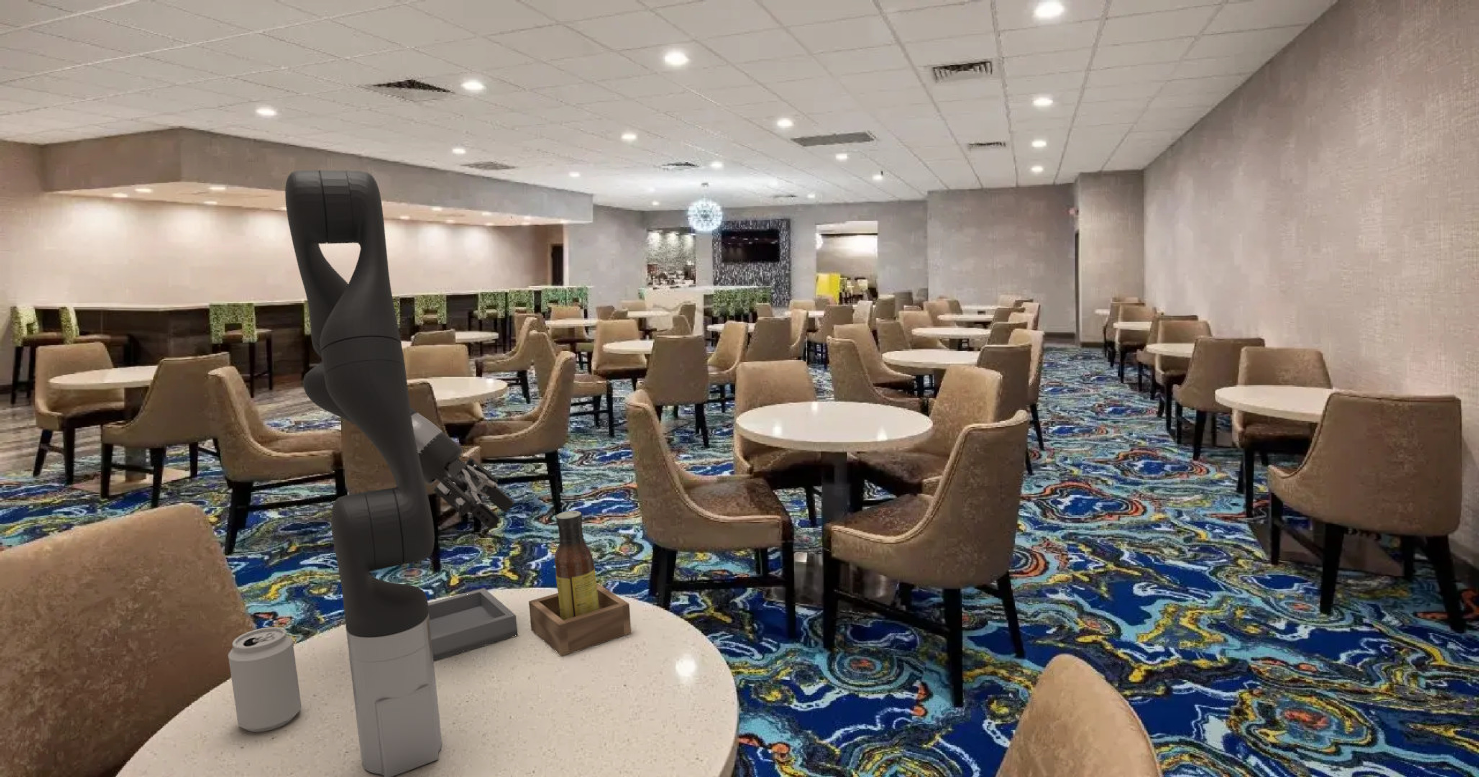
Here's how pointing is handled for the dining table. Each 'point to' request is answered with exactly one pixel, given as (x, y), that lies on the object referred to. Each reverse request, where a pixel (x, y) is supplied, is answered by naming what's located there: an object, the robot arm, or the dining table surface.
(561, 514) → the sauce bottle
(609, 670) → the dining table surface
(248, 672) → the can
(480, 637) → the tray
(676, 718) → the dining table surface
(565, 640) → the bottle holder
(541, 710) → the dining table surface
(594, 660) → the dining table surface
